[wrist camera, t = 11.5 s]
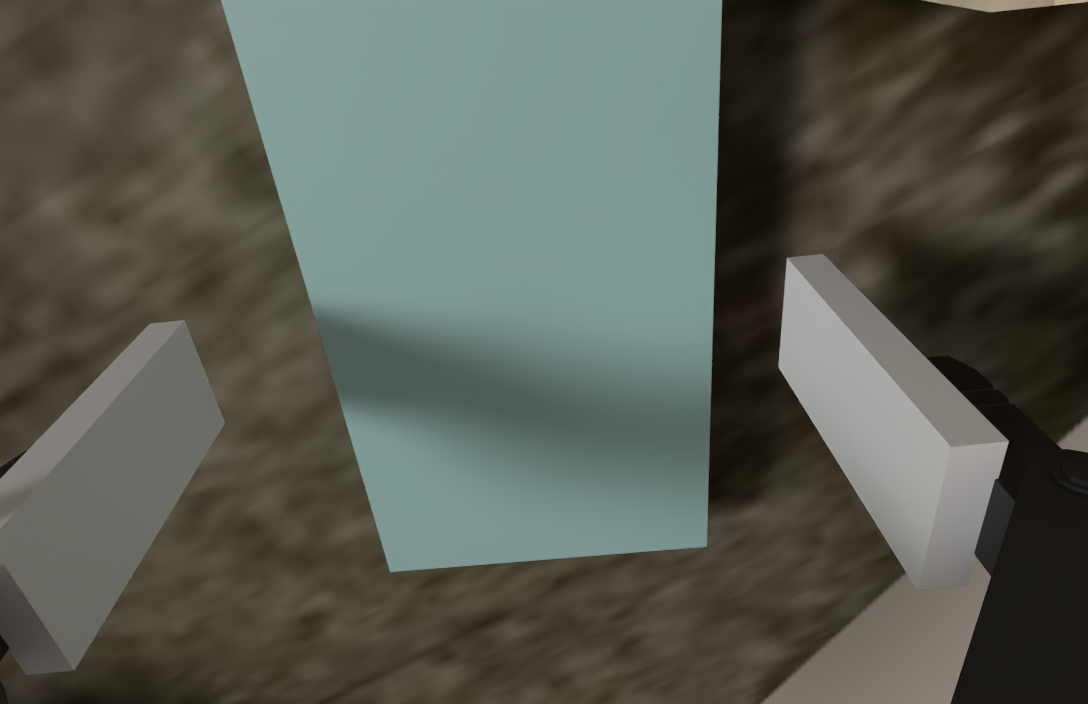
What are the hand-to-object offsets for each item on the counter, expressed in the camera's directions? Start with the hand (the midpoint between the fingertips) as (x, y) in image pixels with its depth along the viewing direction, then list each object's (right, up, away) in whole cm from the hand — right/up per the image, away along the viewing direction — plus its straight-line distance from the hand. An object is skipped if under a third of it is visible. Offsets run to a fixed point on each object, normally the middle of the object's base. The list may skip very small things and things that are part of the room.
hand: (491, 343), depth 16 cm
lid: (0, +2, +3) cm, 4 cm away
